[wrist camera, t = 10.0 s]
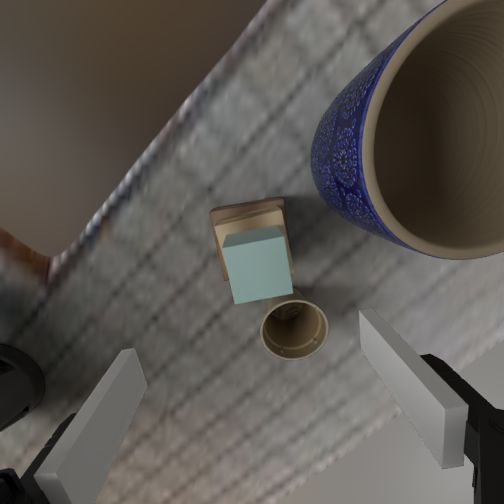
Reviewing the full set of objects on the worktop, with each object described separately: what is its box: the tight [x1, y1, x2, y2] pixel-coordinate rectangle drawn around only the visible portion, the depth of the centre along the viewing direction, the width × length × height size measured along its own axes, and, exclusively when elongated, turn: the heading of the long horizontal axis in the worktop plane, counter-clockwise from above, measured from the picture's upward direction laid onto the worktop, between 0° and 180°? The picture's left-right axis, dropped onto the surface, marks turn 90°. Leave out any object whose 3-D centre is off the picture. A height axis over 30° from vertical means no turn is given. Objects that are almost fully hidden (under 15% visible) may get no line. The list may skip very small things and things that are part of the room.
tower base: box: [209, 197, 290, 281], centre depth 38 cm, size 10×10×5 cm
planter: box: [311, 0, 504, 260], centre depth 28 cm, size 18×18×21 cm
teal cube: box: [222, 225, 293, 304], centre depth 28 cm, size 6×6×6 cm
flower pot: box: [260, 287, 329, 360], centre depth 40 cm, size 9×9×9 cm
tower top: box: [214, 205, 295, 274], centre depth 34 cm, size 8×8×5 cm
